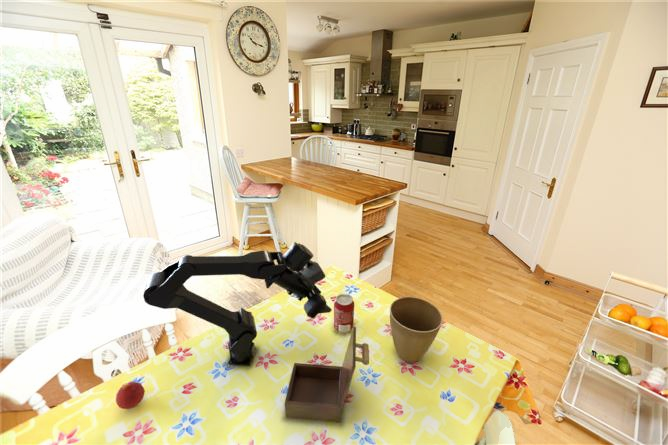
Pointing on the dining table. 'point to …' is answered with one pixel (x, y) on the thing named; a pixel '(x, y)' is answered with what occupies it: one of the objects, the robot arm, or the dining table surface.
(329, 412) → the chest
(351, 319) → the soda can
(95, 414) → the dining table surface
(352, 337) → the chest lid
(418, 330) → the plant pot
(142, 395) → the onion
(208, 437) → the dining table surface
